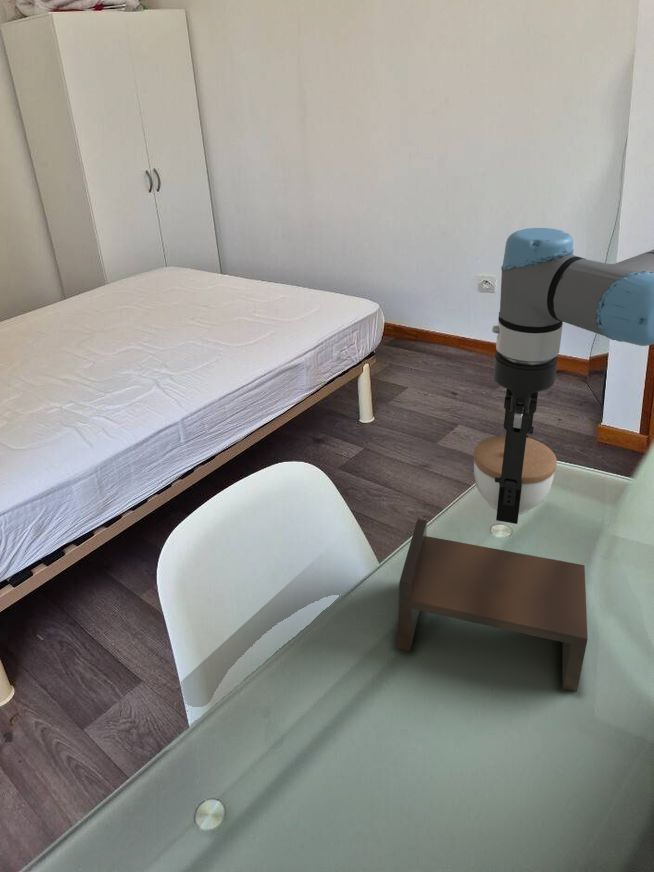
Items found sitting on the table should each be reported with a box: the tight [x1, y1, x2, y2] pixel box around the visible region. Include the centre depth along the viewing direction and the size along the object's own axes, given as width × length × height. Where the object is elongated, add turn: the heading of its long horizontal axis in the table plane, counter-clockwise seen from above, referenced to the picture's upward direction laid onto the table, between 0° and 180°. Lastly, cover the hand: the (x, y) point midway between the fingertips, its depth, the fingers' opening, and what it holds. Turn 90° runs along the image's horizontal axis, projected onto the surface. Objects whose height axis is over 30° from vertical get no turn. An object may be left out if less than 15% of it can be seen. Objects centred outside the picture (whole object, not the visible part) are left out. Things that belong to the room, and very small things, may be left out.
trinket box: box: [473, 434, 558, 515], centre depth 95 cm, size 11×11×9 cm
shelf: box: [396, 518, 589, 693], centre depth 98 cm, size 24×14×13 cm, turn 70°
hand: (510, 495), depth 96 cm, fingers closed on trinket box, 11 cm apart
